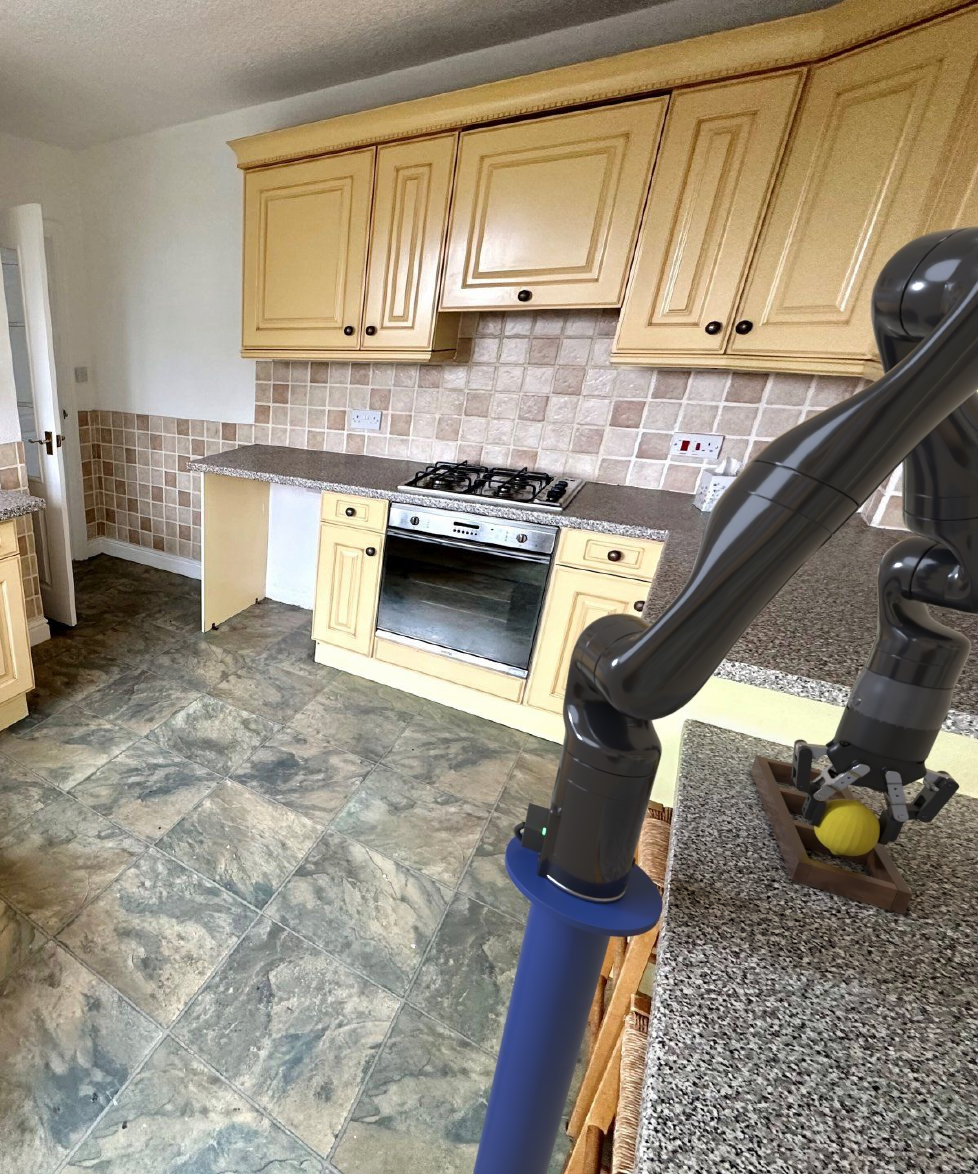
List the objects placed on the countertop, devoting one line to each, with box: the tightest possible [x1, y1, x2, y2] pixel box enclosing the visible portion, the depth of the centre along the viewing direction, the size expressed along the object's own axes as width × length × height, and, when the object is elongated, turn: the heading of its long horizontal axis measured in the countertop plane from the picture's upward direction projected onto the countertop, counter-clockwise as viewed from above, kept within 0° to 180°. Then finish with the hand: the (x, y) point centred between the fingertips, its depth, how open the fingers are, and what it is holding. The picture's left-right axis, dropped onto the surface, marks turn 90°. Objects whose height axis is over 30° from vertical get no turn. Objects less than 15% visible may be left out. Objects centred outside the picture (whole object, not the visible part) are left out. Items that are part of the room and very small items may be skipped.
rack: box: [750, 754, 914, 915], centre depth 86 cm, size 10×27×3 cm, turn 148°
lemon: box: [814, 798, 880, 856], centre depth 78 cm, size 6×6×8 cm
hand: (844, 830), depth 78 cm, fingers closed on lemon, 5 cm apart
